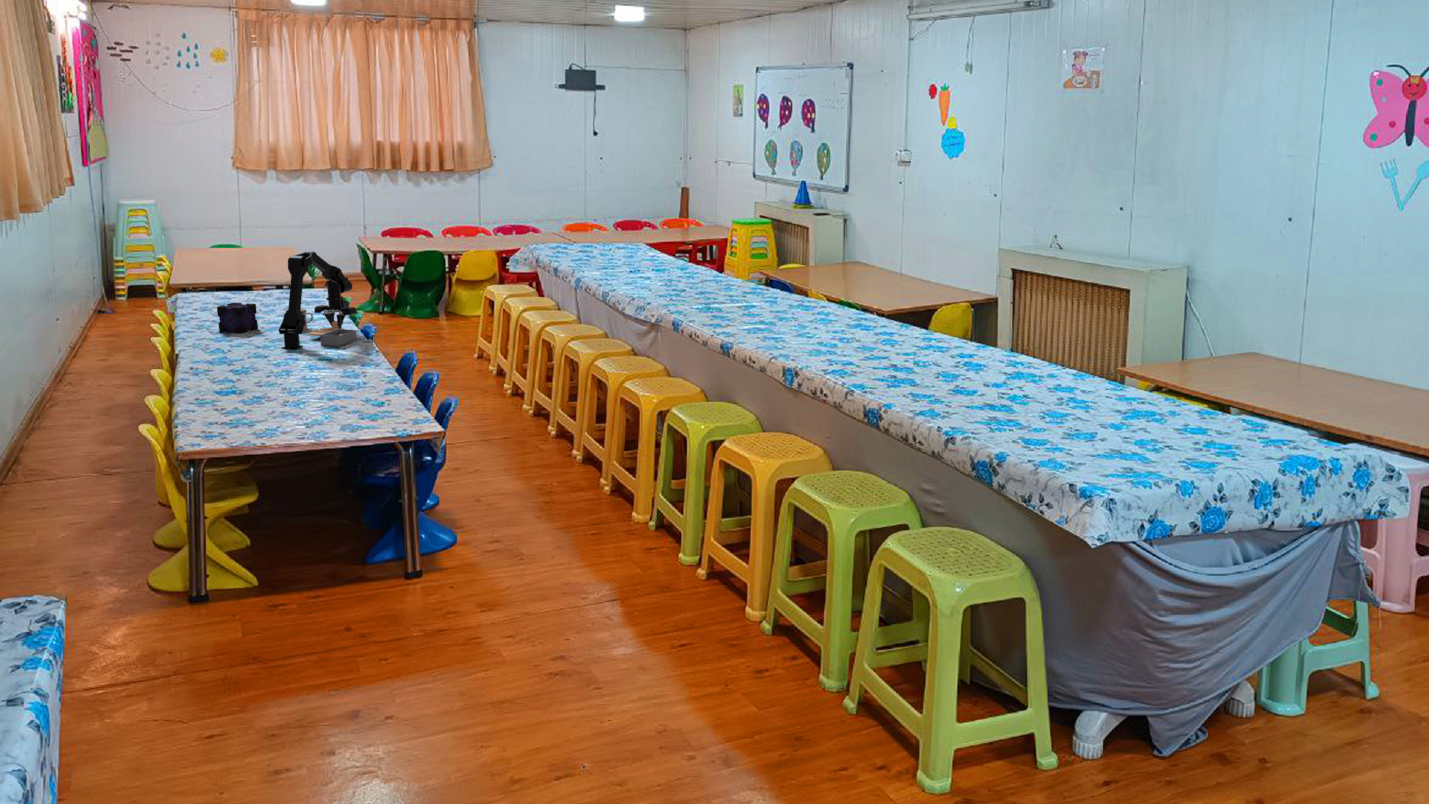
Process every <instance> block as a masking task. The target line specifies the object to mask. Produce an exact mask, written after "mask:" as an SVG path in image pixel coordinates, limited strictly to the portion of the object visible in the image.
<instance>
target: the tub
mask: <svg viewBox="0 0 1429 804" xmlns="http://www.w3.org/2000/svg"><path fill="white" fill-rule="evenodd" d="M319 338H320V339H319V340H320V347H328V348H341V347H344V346H348V345H350V344H353V343H355V342H354V341H356V342H357V341H358V338H357V329H345V328H342V329H337V330H334V331H331V332H327V333H324V334H321V335H320V336H319ZM347 344H348V345H347Z"/></svg>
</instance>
